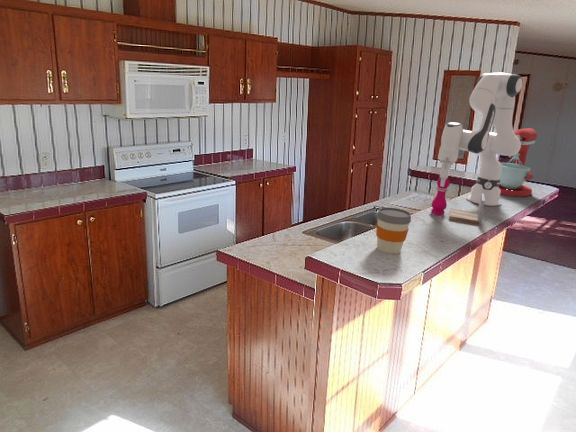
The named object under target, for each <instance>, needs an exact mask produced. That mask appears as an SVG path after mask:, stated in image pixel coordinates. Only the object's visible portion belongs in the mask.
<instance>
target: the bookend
mask: <svg viewBox="0 0 576 432" xmlns="http://www.w3.org/2000/svg"><path fill="white" fill-rule="evenodd" d="M484 203H485V198H484V194H482V193H481V198H480V202H479V204H478V208H477V212H475V211H469V210H465V209H464V210H463V209H459V208H458V209H457V208H452V207H451V208H450V210H449V217H448V220H449V221H452V222H458V223H464V224H469V225H470V224H471V225H475V226H480V224H481V221H482V216H483V213H484V207H485V205H484Z"/></svg>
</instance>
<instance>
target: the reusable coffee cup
mask: <svg viewBox="0 0 576 432" xmlns="http://www.w3.org/2000/svg"><path fill="white" fill-rule="evenodd" d="M376 219H377V223H376V227H375V228H376V231H375V233H376V234H375V235H376V238H377V239H376V243H377V244H376V245H377V246H376V248H377V250H378V251H380V252H382V253H384V254H390V255H391V254H392V255H393V254H394V255H395V254H396V255H397V254H399V253H401V252H402V249H403V245H404V241H406V238H407V235H408V232H409V230H410V229H409V225H410V223H411V221H412V213H411V212H410V211H407V210H406V209H405V210H404V209H400V208H397V207H380V208H379V209H378V211H377V216H376Z"/></svg>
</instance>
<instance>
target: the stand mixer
mask: <svg viewBox="0 0 576 432" xmlns="http://www.w3.org/2000/svg"><path fill="white" fill-rule="evenodd" d="M514 133H515V135H516V136H517V137H518V139H519V140H520V142H521V148H520V150H519V152H518V153H517V154H516V155H514V156H512V157H511V159H509V161H507V162H500V163H501V165H502V171H501V175H500V184H499V186H498V187H499V189H500V190H501V192H500V195H503V194H504V195H503V196H507V195H509V196H508V197H514V196H526V197H529V195H530V196H531V195H532V193H533V190H532V187H530V186H527V185H524V183H525V182H526V180H527V181H528V180H532V179H533V174H532V173H531V167H529V166H526V165H525V164H526V159H527V155H528V152H529V148H530V145H533V144H536V139H537V135H538V133H537V131H536V130H535V129H533V128H532V127H528V128H519V129H517V130H514ZM506 189H508V190H506ZM511 190H513V191H511Z"/></svg>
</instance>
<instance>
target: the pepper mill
mask: <svg viewBox="0 0 576 432" xmlns="http://www.w3.org/2000/svg"><path fill="white" fill-rule="evenodd" d="M440 184H441V178H440V177H439V178H438V179H437V181H436V185H437V187H436V190H437V191H436V192H437V193H436V195H435V197H434V199H433V200H432V202H431V207H432V208H431V210H430V211H431V212H430V213H431V214H432V215H435V216H444V215H445V210H446V209H447V207H448V206H447V205H448V203H447V199H446V194H447V191H448V188H449V186H450V184H451V183H450V180H449V178H447V179H446V180H445V184H444V187H442V186H440Z"/></svg>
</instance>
